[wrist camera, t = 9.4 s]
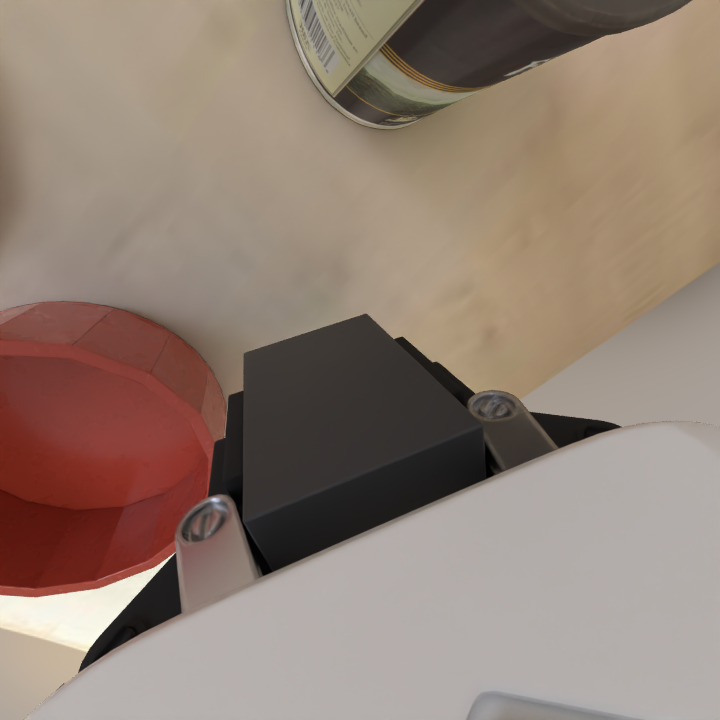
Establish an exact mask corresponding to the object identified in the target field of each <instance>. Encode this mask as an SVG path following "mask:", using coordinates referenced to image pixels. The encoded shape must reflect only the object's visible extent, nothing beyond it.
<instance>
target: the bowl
mask: <svg viewBox="0 0 720 720" xmlns="http://www.w3.org/2000/svg"><path fill="white" fill-rule="evenodd" d="M225 416H226V404H225V402H224V399H223V395H222V392H221V389H220V387H219V384H218V382H217V380H216V378H215V376H214V374H213V372H212V371H211V369H210V368H209V367H208V365H207V364H206V363H205V361H204V360H203V359H202V358H201V357H200V356H199V354H198V353H197V352H196V351H195V350H194V349H193V348H192V347H191V346H189V345H188V344H187V343H186V342H184V341H183V340H182V339H181V338H180V337H178V336H177V335H175V334H173V333H172V332H170V331H169V330H167V329H166V328H164V327H162V326H160V325H158V324H156V323H154V322H152V321H150V320H148V319H146V318H144V317H141V316H138V315H135V314H133V313H130V312H127V311H124V310H120V309H116V308H112V307H108V306H104V305H97V304H91V303H84V302H64V301H60V302H41V303H34V304H28V305H23V306H17V307H14V308H10V309H7V310H3V311H0V595H9V596H23V597H41V596H48V595H55V594H62V593H69V592H76V591H84V590H91V589H98V588H100V587H104V586H106V585H109V584H112V583H114V582H117V581H120V580H122V579H125V578H127V577H130V576H133V575H135V574H138V573H141V572H143V571H146V570H149V569H151V568H154V567H155V566H157V565H158V564H160V563H161V562H162V561H164V560H165V559H166V558H168V557H169V556H171V555H172V554H173V553H175V552H176V548H175V538H174V537H175V529H176V527H177V525H178V523H179V521H180V519H181V518H182V517H183V515H184V514H185V513H186V512H187V511H188V510H189V509H190V508H191V507H192V506H194V505H195V504H196V503H198V502H199V501H201V500H203V499H205V498H207V497H208V491H209V483H210V475H211V466H212V458H213V450H214V444H215V442H216V441H217V440H220V439H223V438H224V431H225Z"/></svg>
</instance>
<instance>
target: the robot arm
mask: <svg viewBox="0 0 720 720" xmlns="http://www.w3.org/2000/svg"><path fill="white" fill-rule="evenodd" d="M394 340H395V341H396V342H397V343H398V344H399V345H400V346H401V347H402V348H403V349H404V350H405V351H406V352H408V353H409V354H410V355H411V356H412V357H413V358H414V359H415V360H416V361H417V362H418V363H419V364H420V365H421V366H422V367H423V368H424V369H425V370H426V371H428V372H429V373H430V374H431V375H432V376H433V377H434V378H435V379H436V380H437V381H438V382H439V383H440V384H441V385H442V386H443V387H444V388H445V389H446V390H447V391H449V392H450V393H451V394H452V395H453V396H454V397H455V398H456V399H457V400H458V401H459V402H460V403H461V404H462V405H463V406H464V407H465V408H466V409H467V410H469V411H470V412H471V413H472V414H473V415H474V416H475V417H476V418H477V419H478V420H479V421H480V422H481V423H482V424H483V426H484V445H485V463H486V480H483V481H481V482H479V483H476V484H474V485H472V486H469V487H467V488H465V489H462V490H460V491H458V492H455V493H453V494H451V495H448V496H446V497H444V498H441V499H439V500H437V501H434V502H432V503H430V504H427V505H425V506H423V507H420V508H418V509H416V510H414V511H411V512H409V513H407V514H404V515H402V516H400V517H397V518H395V519H393V520H391V521H388V522H386V523H384V524H381V525H379V526H377V527H374V528H372V529H370V530H368V531H365V532H363V533H361V534H358V535H356V536H354V537H351V538H349V539H347V540H345V541H342V542H340V543H338V544H335V545H333V546H331V547H329V548H326V549H324V550H322V551H320V552H317V553H315V554H313V555H311V556H308V557H306V558H304V559H301V560H299V561H297V562H295V563H292V564H290V565H288V566H286V567H283V568H281V569H279V570H277V571H274V572H273V571H272V570H271V568H270V566H269V565H268V563H267V561H266V560H265V558H264V556H263V555H262V553H261V551H260V550H259V548H258V546H257V545H256V543H255V541H254V540H253V538H252V536H251V535H250V533H249V531H248V530H247V528H246V526H245V525H244V523H243V391H241V392H238V393H235V394H232V395H229V399H228V412H227V425H226V438H223V439H220V440H217V441H216V442H215V444H214V450H213V458H212V466H211V475H210V483H209V491H208V497H207V498H205V499H203V500H201V501H199V502H198V503H196V504H195V505H194V506H192V507H191V508H190V509H189V510H188V511H187V512H186V513H185V514H184V515H183V517H182V518H181V519H180V521H179V523H178V525H177V527H176V529H175V537H174V538H175V548H176V553H175V554H174V555H173V556H172V557H171V558H170V559H169V561H168V562H167V563H166V564H165V565H164V566H163V567H162V568H161V569H160V570H159V572H158V573H157V574H156V575H155V576H154V577H153V578H152V579H151V580H150V581H149V582H148V584H147V585H146V586H145V587H144V588H143V589H142V590H141V591H140V592H139V593H138V595H137V596H136V597H135V598H134V599H133V600H132V601H131V602H130V603H129V604H128V606H127V607H126V608H125V609H124V610H123V611H122V612H121V613H120V614H119V615H118V617H117V618H116V619H115V620H114V621H113V622H112V623H111V624H110V625H109V626H108V628H107V629H106V630H105V631H104V632H103V633H102V634H101V635H100V636H99V638H98V639H97V640H96V641H95V643H94V644H93V645H92V647H91V648H90V649H89V651H88V653H87V654H86V656H85V658H84V660H83V661H82V663H81V666H80V669H79V672H78V674H77V675H75V677H73V678H72V679H70V680H69V681H68V682H67V683H65V684H63V685H62V686H60V687H59V689H57V690H56V691H55V692H54V693H53V694H52V695H51V696H49V697H48V698H47V699H45V700H44V701H43V702H42V703H41V704H40V705H39V706H38V707H37V708H36V709H34V710H33V711H32V712H31V713H30V714H29V715H28V716H27V717H26V718H25V719H24V720H720V427H718V426H714V425H710V424H705V423H700V422H689V421H663V422H652V423H641V424H636V425H631V426H625V427H621V426H618V425H616V424H613V423H609V422H605V421H599V420H592V419H584V418H575V417H567V416H559V415H551V414H543V413H534V412H529V411H528V410H527V409H526V407H525V406H524V405H523V404H522V402H521V401H520V400H519V399H518V398H517V397H515V396H514V395H512V394H510V393H508V392H504V391H498V390H489V391H482V392H479V393H476V394H475V393H474V392H473V391H471V390H470V389H469V388H468V387H467V386H466V385H464V384H463V383H462V382H461V381H460V380H459V379H457V378H456V377H455V376H454V375H453V374H451V373H450V372H449V371H448V370H447V369H446V368H444V367H443V366H442V365H441V364H440V363H438V362H433V363H432V362H431V361H430V360H429V359H428V358H427V357H425V356H424V355H423V354H422V353H421V352H420V351H419V350H417V349H416V348H415V347H414V346H413V345H412V344H411V343H409V342H408V341H407V340H406V339H405V338H404V337H399V338H396V339H394Z"/></svg>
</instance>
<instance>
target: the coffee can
mask: <svg viewBox="0 0 720 720" xmlns="http://www.w3.org/2000/svg"><path fill="white" fill-rule="evenodd" d="M690 1H692V0H286V11H287V15H288V20H289V25H290V28H291V32H292V36H293V39H294V42H295V45H296V48H297V51H298V53H299V56H300V58H301V61H302V63H303V65H304V67H305V69H306V71H307V73H308V75H309V76H310V78H311V79H312V81H313V83H314V84H315V86H316V87H317V88H318V90H319V91H320V92H321V93H322V95H323V96H324V97H325V99H326V100H327V101H328V102H329V103H330V104H331V105H332V106H334V107H335V108H336V109H337V110H338V111H340V112H341V113H342V114H343V115H345V116H346V117H348V118H350V119H351V120H353V121H355V122H357V123H359V124H362V125H365V126H368V127H372V128H377V129H398V128H402V127H405V126H408V125H411V124H413V123H415V122H417V121H419V120H421V119H423V118H424V117H425V116H428V115H430V114H432V113H434V112H436V111H438V110H440V109H442V108H444V107H446V106H448V105H451V104H453V103H455V102H457V101H459V100H462V99H464V98H466V97H468V96H471V95H473V94H475V93H477V92H480V91H482V90H484V89H486V88H488V87H491V86H493V85H495V84H497V83H499V82H501V81H504V80H507V79H509V78H511V77H514V76H516V75H519V74H521V73H523V72H525V71H528V70H530V69H532V68H534V67H537V66H539V65H541V64H543V63H545V62H547V61H549V60H551V59H554V58H556V57H559V56H561V55H563V54H565V53H567V52H569V51H572V50H574V49H576V48H579V47H581V46H584V45H586V44H588V43H590V42H592V41H595V40H597V39H599V38H601V37H603V36H605V35H611V34H617V33H621V32H625V31H628V30H631V29H634V28H637V27H640V26H643V25H646V24H649V23H651V22H654V21H656V20H658V19H660V18H662V17H665V16H667V15H669V14H671V13H673V12H675V11H676V10H678V9H680V8H681V7H683V6H685V5H686V4H687V3H689V2H690Z"/></svg>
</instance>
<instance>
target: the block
mask: <svg viewBox="0 0 720 720" xmlns="http://www.w3.org/2000/svg"><path fill="white" fill-rule="evenodd" d="M483 480H486V463H485V445H484V426H483V424H482V423H481V422H480V421H479V420H478V419H477V418H476V417H475V416H474V415H473V414H472V413H471V412H470V411H469V410H467V409H466V408H465V407H464V406H463V405H462V404H461V403H460V402H459V401H458V400H457V399H456V398H455V397H454V396H453V395H452V394H451V393H450V392H449V391H447V390H446V389H445V388H444V387H443V386H442V385H441V384H440V383H439V382H438V381H437V380H436V379H435V378H434V377H433V376H432V375H431V374H430V373H429V372H428V371H426V370H425V369H424V368H423V367H422V366H421V365H420V364H419V363H418V362H417V361H416V360H415V359H414V358H413V357H412V356H411V355H410V354H409V353H408V352H406V351H405V350H404V349H403V348H402V347H401V346H400V345H399V344H398V343H397V342H396V341H395V340H394V339H393V338H392V337H391V336H390V335H389V334H388V333H386V332H385V331H384V330H383V329H382V328H381V327H380V326H379V325H378V324H377V323H376V322H375V321H374V320H373V319H372V318H371V317H370V316H369V315H368V314H363V315H360V316H357V317H354V318H351V319H348V320H345V321H342V322H339V323H335V324H332V325H329V326H326V327H323V328H320V329H317V330H314V331H311V332H308V333H305V334H301V335H298V336H295V337H292V338H289V339H286V340H283V341H280V342H277V343H274V344H271V345H268V346H264V347H261V348H258V349H255V350H252V351H249V352H246V353H244V391H243V523H244V525H245V526H246V528H247V530H248V531H249V533H250V535H251V536H252V538H253V540H254V541H255V543H256V545H257V546H258V548H259V550H260V551H261V553H262V555H263V556H264V558H265V560H266V561H267V563H268V565H269V566H270V568H271V570H272V571H273V572H274V571H277V570H279V569H281V568H283V567H286V566H288V565H290V564H292V563H295V562H297V561H299V560H301V559H304V558H306V557H308V556H311V555H313V554H315V553H317V552H320V551H322V550H324V549H326V548H329V547H331V546H333V545H335V544H338V543H340V542H342V541H345V540H347V539H349V538H351V537H354V536H356V535H358V534H361V533H363V532H365V531H368V530H370V529H372V528H374V527H377V526H379V525H381V524H384V523H386V522H388V521H391V520H393V519H395V518H397V517H400V516H402V515H404V514H407V513H409V512H411V511H414V510H416V509H418V508H420V507H423V506H425V505H427V504H430V503H432V502H434V501H437V500H439V499H441V498H444V497H446V496H448V495H451V494H453V493H455V492H458V491H460V490H462V489H465V488H467V487H469V486H472V485H474V484H476V483H479V482H481V481H483Z"/></svg>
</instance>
